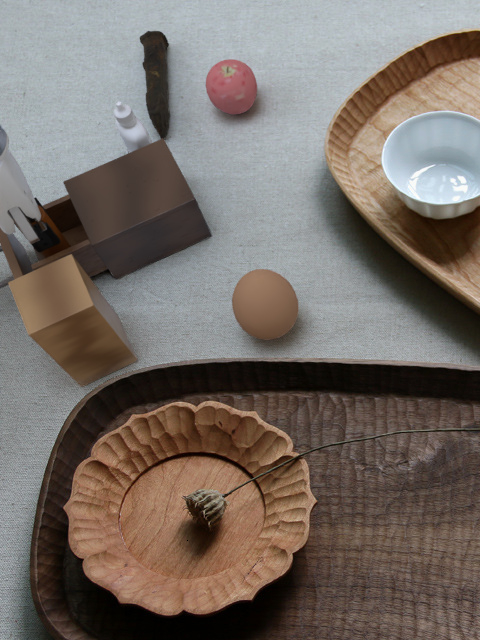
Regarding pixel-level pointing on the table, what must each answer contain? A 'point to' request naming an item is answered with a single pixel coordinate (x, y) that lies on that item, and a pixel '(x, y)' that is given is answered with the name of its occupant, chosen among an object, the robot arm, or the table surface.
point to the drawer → (81, 250)
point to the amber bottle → (63, 241)
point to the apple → (231, 86)
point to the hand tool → (156, 79)
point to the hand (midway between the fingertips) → (43, 233)
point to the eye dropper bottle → (130, 128)
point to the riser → (72, 320)
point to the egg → (265, 304)
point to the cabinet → (137, 209)
